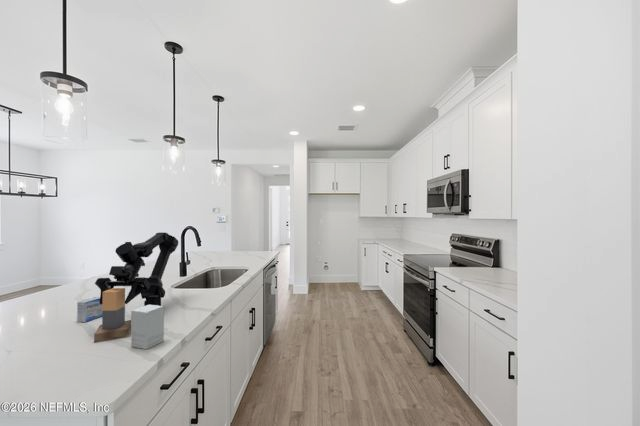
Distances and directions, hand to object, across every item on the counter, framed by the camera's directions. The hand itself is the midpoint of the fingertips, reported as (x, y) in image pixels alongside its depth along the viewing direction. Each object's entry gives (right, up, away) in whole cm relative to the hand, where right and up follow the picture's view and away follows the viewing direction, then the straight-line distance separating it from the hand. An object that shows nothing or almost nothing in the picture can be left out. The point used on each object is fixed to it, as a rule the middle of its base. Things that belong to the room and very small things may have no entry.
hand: (113, 303), depth 106 cm
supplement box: (+18, -12, -7) cm, 23 cm away
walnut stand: (0, -12, 0) cm, 12 cm away
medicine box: (-22, -12, +17) cm, 31 cm away
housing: (0, -9, 0) cm, 9 cm away
